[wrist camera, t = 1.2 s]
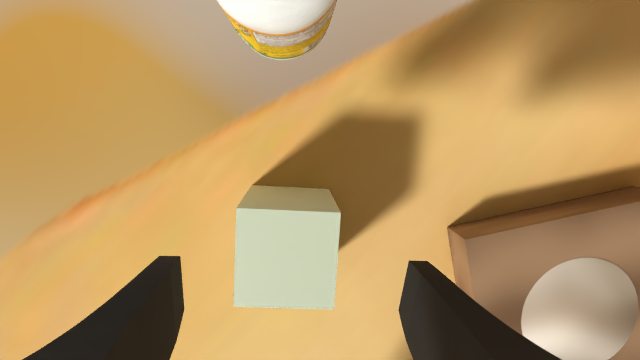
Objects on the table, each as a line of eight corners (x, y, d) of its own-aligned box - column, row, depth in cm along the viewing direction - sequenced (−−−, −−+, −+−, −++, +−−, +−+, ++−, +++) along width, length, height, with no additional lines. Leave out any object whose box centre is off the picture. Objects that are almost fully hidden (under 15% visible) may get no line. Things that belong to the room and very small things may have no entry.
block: (324, 261, 23) (333, 309, 17) (249, 258, 23) (233, 306, 17) (328, 188, 23) (341, 212, 17) (252, 184, 22) (236, 208, 16)
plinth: (645, 358, 26) (683, 383, 23) (473, 398, 25) (493, 429, 23) (634, 186, 24) (674, 194, 21) (447, 227, 23) (465, 239, 21)
